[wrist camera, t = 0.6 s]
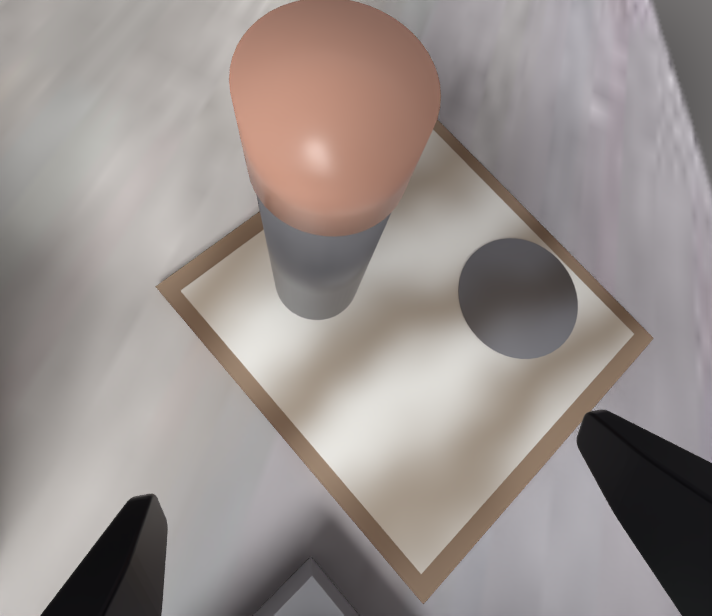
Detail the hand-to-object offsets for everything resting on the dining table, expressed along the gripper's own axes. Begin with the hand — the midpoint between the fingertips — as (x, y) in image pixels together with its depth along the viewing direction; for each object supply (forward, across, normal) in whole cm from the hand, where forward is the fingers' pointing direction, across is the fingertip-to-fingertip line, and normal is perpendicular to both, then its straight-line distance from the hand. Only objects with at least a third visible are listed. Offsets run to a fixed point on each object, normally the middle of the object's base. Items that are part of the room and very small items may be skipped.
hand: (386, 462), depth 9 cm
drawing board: (+13, -5, +5) cm, 15 cm away
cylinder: (+15, 0, +3) cm, 15 cm away
